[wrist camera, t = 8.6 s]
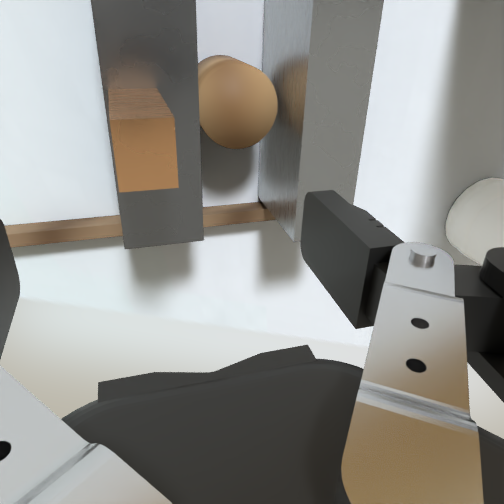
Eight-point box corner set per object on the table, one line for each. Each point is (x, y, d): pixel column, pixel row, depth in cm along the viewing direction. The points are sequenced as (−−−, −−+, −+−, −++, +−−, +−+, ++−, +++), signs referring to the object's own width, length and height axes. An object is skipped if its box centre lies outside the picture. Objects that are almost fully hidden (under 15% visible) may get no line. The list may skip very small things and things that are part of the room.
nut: (255, 54, 30) (279, 63, 26) (253, 128, 33) (275, 146, 28) (183, 55, 29) (196, 64, 25) (186, 131, 31) (199, 151, 27)
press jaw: (176, -46, 26) (228, -80, 15) (188, 204, 34) (229, 301, 23) (86, -51, 24) (72, -92, 14) (121, 210, 32) (130, 316, 22)
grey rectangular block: (324, -37, 29) (391, -49, 22) (303, 192, 36) (348, 235, 30) (265, -41, 28) (317, -54, 21) (258, 196, 35) (293, 241, 29)
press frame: (326, -66, 28) (337, -69, 27) (302, 209, 37) (309, 216, 36) (-94, -97, 22) (-106, -103, 21) (3, 238, 31) (-1, 248, 30)
